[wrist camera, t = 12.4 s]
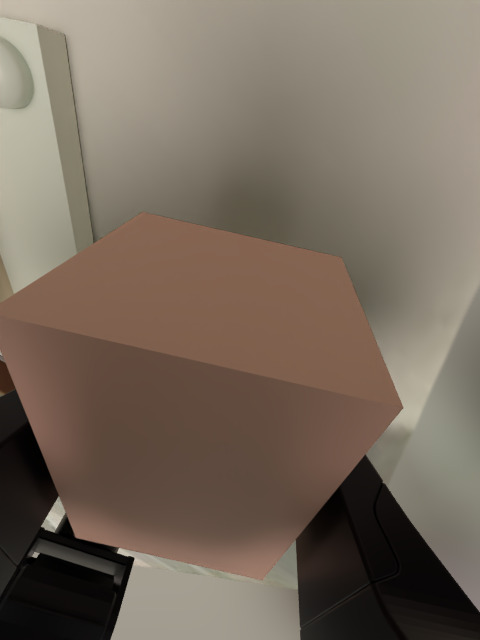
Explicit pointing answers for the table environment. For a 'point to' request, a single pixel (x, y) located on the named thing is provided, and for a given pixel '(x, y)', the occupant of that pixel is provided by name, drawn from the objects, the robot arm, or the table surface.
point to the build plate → (38, 155)
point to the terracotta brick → (196, 389)
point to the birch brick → (4, 283)
